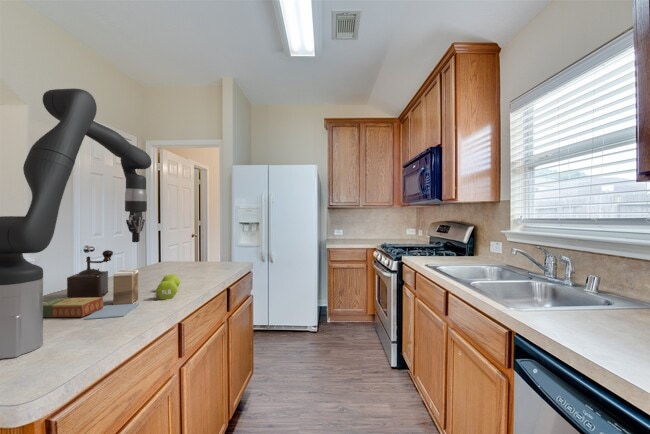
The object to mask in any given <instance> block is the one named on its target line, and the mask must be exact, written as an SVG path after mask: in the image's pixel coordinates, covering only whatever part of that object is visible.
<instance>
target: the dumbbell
mask: <svg viewBox="0 0 650 434" xmlns="http://www.w3.org/2000/svg"><path fill="white" fill-rule="evenodd" d="M158 284H159V285H158V286H157V287H156V289H155V294H156V295H157V297H158V298H159V299H160V300H162V301H163V300H164V301H165V300H172V299H174V297H175V296H176V294H177V293H178V290H179V286H180V284H181V280H180V278H179V276H177V275H176V274H166V275H164V276H163V278H162V279H161V281H160V283H158Z"/></svg>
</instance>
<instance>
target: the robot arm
mask: <svg viewBox="0 0 650 434" xmlns="http://www.w3.org/2000/svg"><path fill="white" fill-rule="evenodd" d="M42 104H43V107H44V109H45V110H46V111H47V112H48V113H49V115H51V116H52V117H53V118H55V119H56V120H58V121H59V122H58V123H57V124H56V125H55V126H54V127H52V129H50V130H48V131H47V132H46V133H45V134H44V135H41V137H40V138H39V139H37V140H36V141H35V142H34V144H32V146H31V147H30V150H29V151H28V154H27V156H26V159H25V161H24V163H23V167H22V168H23V169H22V171H23V174H24V178H25V180H26V182H27V185H28V186H29V189H30V191H31V201H30V205H29V207H28V210H27V212H26V214H25V215H23V216H22V215H21V216H20V215H19V216H17V215H16V216H15V215H9V216H8V215H7V216H6V215H5V216H3V215H2V216H0V360H1V359H9V358H11V359H12V358H17V357H19V356H21V355H25V354H27V353H30V352H33V351H35V350H37V349H39V348H41V347H42V346H43V344H44V317H43V303H44V269H43V267H41V266H40V265H37V264H34V263H31V262H29V261H28V260H27V259H26V258H25V257H24V255H23V254H37V253H40V252H43V251H45V250H46V249H47V248H48V246H49V245H50V244H51V242H52V239H53V237H54V235H55V231H56V227H57V226H56V224H57V220H58V217H59V211H60V206H61V204H62V203H61V202H62V199H63V196H64V193H65V190H66V187H67V184H68V182H69V179H70V176H71V174H72V173H73V172H72V171H73V168H74V167H75V163H76V159H77V157H78V154H79V151H80V149H81V146H82V143H83V142H84V141H83V140H84V139H85V136H86V137H88V138H90V139H92V140H93V141H95V142H96V143H98V144H100V145H101V146H102V147H103V148H105V149H106V150H108V152H110V153H111V154H112V155H114V156H115V157H117V158H119V159H120V165H121V168H122V171H123V176H124V178H125V193H124V211H125V212H126V213H127V212H129V214H128V219H126V220H125V222H126V223H125V224H126V226H127V228H128V232H130V233H131V243H139V242H140V241H141V240H140V235H141V234H140V233H141V232H142V231H143V228H144V226H145V222H146V220H145V219H144V216H143V213H146V212H147V211H148V194H147V179H146V178H147V177H146V176H144V175H142V174H138V173H137V171H136V170H147V169H150V167H151V165H152V159H151V156H150V155H149V154H148V153H147V152H146V151H144V150H143V149H141V148H140V147H138V146H135V145H134V144H132V143H130V142H129V141H128V140H127V139H125V137H124V136H122V135H121V134H120V133H118V132H117V131H116V130H113V129H112V128H109V127H107V126H106V125H103V124H100V123H99V122H97V121H95V118H96V115H97V111H98V110H97V108H98V107H97V103H96V99H95V98H94V96H93V95H92V94H91V93H90V92H89V91H87V90H85V89H81V88H56V89H50V90H49V89H48V90H47V91H45V92H44V93H43V94H42Z"/></svg>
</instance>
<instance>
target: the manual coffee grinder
mask: <svg viewBox="0 0 650 434" xmlns="http://www.w3.org/2000/svg"><path fill="white" fill-rule="evenodd" d="M101 255H102V256H103V259H102V260H91V256H86V258H85V259H86V261H85V262H86V269H84V270H82V271H80V272H78V273H75V274H73V275H70V276H68V277H67V278H66V285H67V286H66V298H89V297H103V298H104V296H106V295H107V294H108V292H109V271H108V270H104V271H103V270H100V268H97V269H95V268H91V264H102V263H108V262H111V261H112V259H111V257H112V256H113V255H114V251H113V250H108V249H107V250H104V251H103V252H102V254H101Z"/></svg>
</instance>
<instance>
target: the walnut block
mask: <svg viewBox="0 0 650 434" xmlns="http://www.w3.org/2000/svg"><path fill="white" fill-rule="evenodd" d="M112 276H113V279H112V280H113V284H112V285H113V286H112V287H113V289H112V290H113V291H112V292H113V293H112V295H113V296H112V298H113V299H112V300H113V301H112V304H113V305H123V304H133V303H134V302H135V303H136V302H137V301H139V269H126V270H118V271H117V272H114V273H113V275H112ZM135 303H134V304H135Z"/></svg>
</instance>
